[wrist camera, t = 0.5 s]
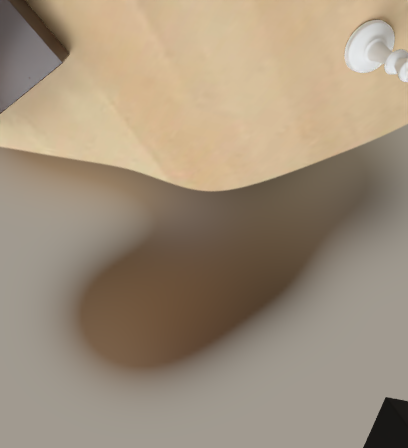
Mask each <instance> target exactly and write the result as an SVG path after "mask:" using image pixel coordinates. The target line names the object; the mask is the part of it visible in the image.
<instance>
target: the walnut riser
mask: <svg viewBox="0 0 408 448" xmlns="http://www.w3.org/2000/svg"><path fill="white" fill-rule="evenodd" d="M68 56H69V53H68V51H67V50H66V49H65V48H64V47H63V45H62V44H61V43H60V42H59V41H58V39H57V38H56V37H55V36H54V35H53V33H52V32H51V31H50V30H49V29H48V28H47V26H46V25H45V24H44V23H43V22H42V20H41V19H40V18H39V17H38V16H37V14H36V13H35V12H34V11H33V10H32V8H31V7H30V6H29V5H28V4H27V2H26V1H25V0H0V114H1V113H2V112H3V111H4V110H6V109H7V108H8V107H9V106H10V105H12V104H13V103H14V102H15V101H17V100H18V99H19V98H20V97H22V96H23V95H24V94H25V93H26V92H28V91H29V90H30V89H31V88H33V87H34V86H35V85H36V84H37V83H39V82H40V81H41V80H42V79H44V78H45V77H46V76H47V75H48V74H50V73H51V72H52V71H53V70H55V69H56V68H57V67H58V66H60V65H61V64H62V63H63V62H64V61H65V59H66V58H67V57H68Z"/></svg>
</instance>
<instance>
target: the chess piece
mask: <svg viewBox="0 0 408 448" xmlns="http://www.w3.org/2000/svg"><path fill="white" fill-rule="evenodd" d="M394 41H395V36H394V32H393V29H392V28H391V26H390V25H388V24H387V23H386V22H384V21H382V20H371V21H368V22H366V23H364V24H362V25H361V26H360V27H358V28H357V29H356V30H355V31H354V32H353V34H352V35H351V37H350V38H349V40H348V42H347V45H346V48H345V55H344V56H345V62H346V64H347V66H348V67H349V68H350V69H351V70H353V71H355V72H359V73H367V72H371V71H373V70H375V69H377V68H378V67H380V66H381V65H382V64H385V65H384V69H385V71H386V73H388V74H398V77H399V79H400V80H401V81H403V82H408V53H407V51H405V50H403V49H399V50H396V51H394V52H392V49H393V46H394Z"/></svg>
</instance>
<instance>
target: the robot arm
mask: <svg viewBox="0 0 408 448" xmlns="http://www.w3.org/2000/svg"><path fill="white" fill-rule="evenodd" d="M363 448H408V401H404V400H398V399H392V398H387V397H386V398H385V400H384V402H383V404H382V407H381V409H380V411H379V413H378V416H377V418H376V421H375V423H374V425H373V427H372V429H371V432H370V434H369V436H368V438H367V441H366V443H365V445H364V447H363Z"/></svg>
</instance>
